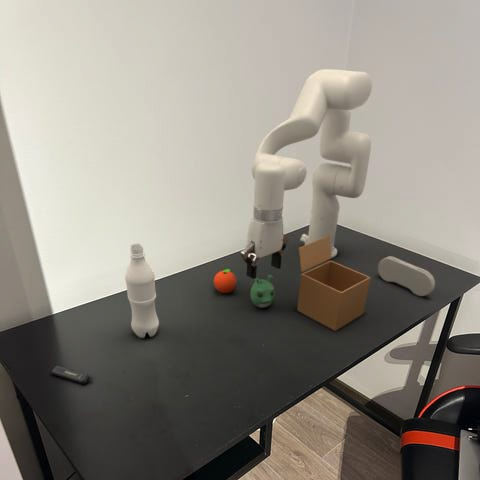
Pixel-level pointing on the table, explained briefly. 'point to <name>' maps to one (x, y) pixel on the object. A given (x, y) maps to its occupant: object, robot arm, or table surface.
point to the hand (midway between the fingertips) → (263, 272)
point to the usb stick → (70, 374)
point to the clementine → (225, 281)
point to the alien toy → (262, 292)
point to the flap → (314, 253)
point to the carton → (333, 294)
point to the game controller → (406, 275)
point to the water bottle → (141, 293)
